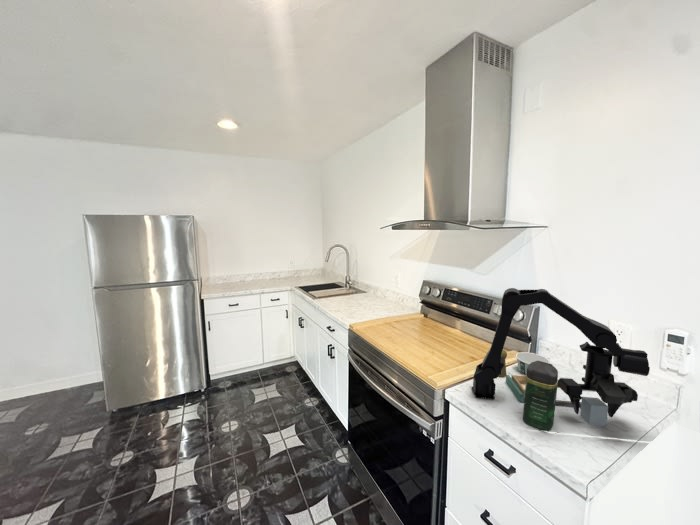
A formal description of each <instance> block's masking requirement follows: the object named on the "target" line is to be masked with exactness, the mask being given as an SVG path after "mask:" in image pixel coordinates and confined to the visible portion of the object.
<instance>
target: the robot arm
mask: <svg viewBox="0 0 700 525" xmlns="http://www.w3.org/2000/svg"><path fill="white" fill-rule="evenodd" d="M536 304H538V305H539V304H542V305H544V306H545V307H547V308H548V309H549V310H551V311H552V312H554V313H555V314H557V315H558V316H559V317H561V318H562V319H564V320H565V321H567V322H568V323H570V324H571V325H573V326H574V327H576V328H577V329H578V330H579V331H580V332H581V333H582V334H583V335H584V336H585V337H586V338H587V339H588V340H589V341H590V342H591V343H592V344H590V343H589V341H585V342H584V343H582V344H579V348H580V351H582V352H587V353H586V362H585V364H583V365H582V369H584V370H585V371H584V372H585V373H584V376H583V377H581V381H582V382H583V383H578V382H577V381H576V380H574V378H566V377H560V378H558V382H557V383H558V384H557V385H558V386H559V387H560V388H559V389H560V390H562V392H563V393H564V394H566V395H567V396H568V397H569V399H570V400H569V401H571V403H572V406H573V407H572V408H573V412H574V413H575V414H576V415H579V413H580V408H579V406H580V402H581V401H582V397H583V396H582V395H583V392H592V393H594V392H595V393H597V395H598V396H599V397H600V400H601V401H602V402H603V403H605V404H606V405H607V406H608V414H607V416H608V417H609V418H613V417H614V416H615V414H616V412H617V411H618V410H619V409H620V407H622V405H623V404H629V403H630V404H631V403H632V402H637V401H638V400H639V399H638V397H639V394H638V392H637V391H636V390H635V389H634V388H632V387H631V386H629V385H628V384H626V383H625V382H622V381H621V382H619V381H618V382H617V381H615V375H614V374H613V373H612V372H611V371H612V365H613V367H615V368H617V370H618V371H619V372H622V373H627V374H633V375H637V376H638V375H639V376H643V377H644V376H645V377H647V376H648V375H649V374H650V368H651V367H650V366H649V365H650V364H649V359H648V353H647V352H646V351H645V350H641V349H640V350H637V349H630V348H629V349H628V348H623V347H622V346H621V345H620V344H619V343H618V342H617V341H618V338H617V335H616V334H615V333H614V332H613V330H611V328H609V326H607V325H605V324H603V323H601V322H599V321H596V320H595V319H593V318H589V317H587V316H585V315H584V314H582V313H580V312H579V311H578V310H576V309H574V308H573V307H571V306H569V305H568V304H566V303H565V302H564V301H562V300H560V299H559V298H558V297H556V296H554V295H553V294H551V293H550V292H549V291H548V290H547V289H545V288H539V289H517V288H515V287H510V288H509V287H508V288H507V289H505V290H504V292H503V293H502V299H501V310H500V317H499V320H498V323H497V326H496V329H495V333H494V335H493V340H492V342H491V345H490V348H489V349H488V351H487V352H486V354H485V356H484V358H483V359H482V362H481V363H479V364H477V365H476V367H475V371H474V374H473V380H472V381H473V383H472V384H473V385H472V386H471V391H472V393H473V394H474V397H475V398H476V399H485V400H495V399H496V396H495V395H496V387H497V386H496V382H495V379H498V378H499V377H498V376H499V374H500V375H501V374H502V368H503V366H504V364H505V363H506V358H504V357H501V353H502V350H504V347H505V343H506V340H507V337H508V334H509V330H510V328H511V324H512V321H513V319H514V317H515V315H516V314H517V312H518V311H519V309H520V308H521V307H522V306H523V307H524V306H529V305H536Z"/></svg>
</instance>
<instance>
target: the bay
mask: <svg viewBox="0 0 700 525" xmlns="http://www.w3.org/2000/svg"><path fill="white" fill-rule="evenodd" d="M511 377H512V376H510V375H509V374H506V377H505V384H507V386H508V388H509V389H510V390H511V392H512V393H513V395H514V396H515V398H516V399H517V401H518V402H519V403H521V404H524V400H525V397H523V396H524V395H523V393H522V392H521V391H520V389H519V388H518V387H517V385H516V384H515V383H514V381H513V380H512V379H511ZM557 384H558V382H557ZM558 388H559V389H561V388H560V387H559V386H558V385H557V389H558ZM581 402H582V401H580V406H579V409H581ZM556 406H557V407H565V408H573V406H572V403H571V400H560V399H556V404H555V407H556Z"/></svg>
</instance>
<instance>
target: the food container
mask: <svg viewBox="0 0 700 525" xmlns="http://www.w3.org/2000/svg"><path fill="white" fill-rule="evenodd" d="M515 358H516V363H517V370H518V371H519V372H520V373H521V374H522V375H525V376H526V375H527V368H528V365H529V364H530V363H532V362H535V361H542V362H546V363H549V364H551V361H550V360H549V359H548V358H547V357H545V356H543V355H541V354H537V353H534V352H526V351H522V352H517V353H516V354H515Z"/></svg>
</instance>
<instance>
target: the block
mask: <svg viewBox="0 0 700 525" xmlns="http://www.w3.org/2000/svg"><path fill="white" fill-rule="evenodd" d="M581 397H582V399H581V401H580V402H581V408H580V411H579V413H580V414H579V415H580V417H581V418H582V419H583V420H584V421H585V422H586V423H587V424H588V425H590V426H601V427H606V426H607V424H608V423H607V421H608V404H607V403H605V402H603V401H602V400H601V398H598V397H592V396H581Z"/></svg>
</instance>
